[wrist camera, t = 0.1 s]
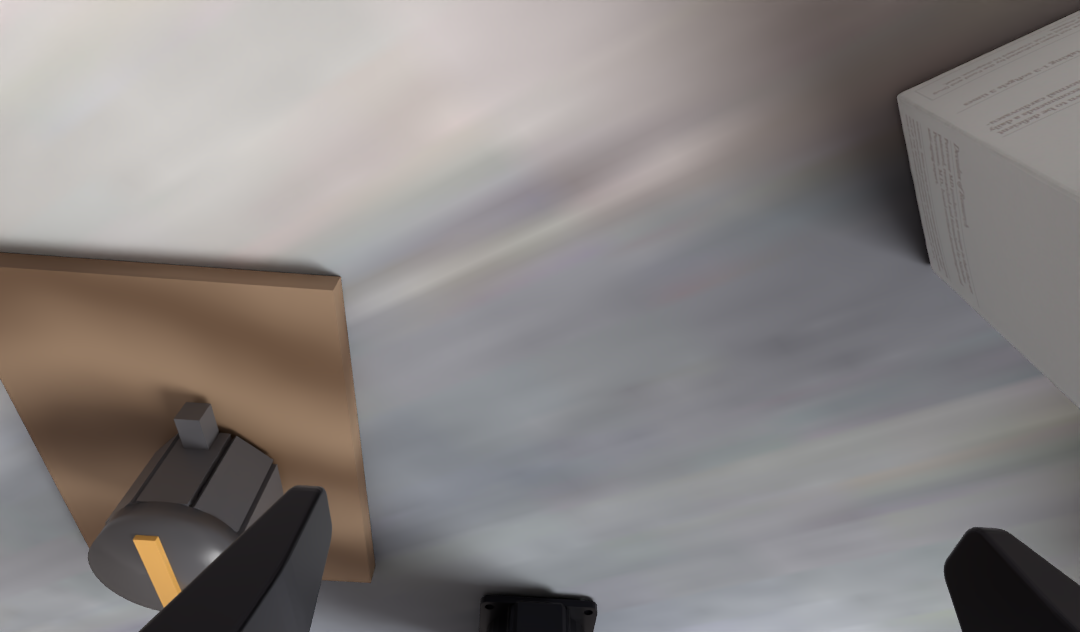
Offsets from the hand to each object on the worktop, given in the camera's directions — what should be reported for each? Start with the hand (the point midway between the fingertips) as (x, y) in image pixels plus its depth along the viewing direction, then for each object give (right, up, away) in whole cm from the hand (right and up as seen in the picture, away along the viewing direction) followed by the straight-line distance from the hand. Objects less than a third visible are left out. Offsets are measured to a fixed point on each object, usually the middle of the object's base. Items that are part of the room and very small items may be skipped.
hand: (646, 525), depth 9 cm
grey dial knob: (-16, -4, +19) cm, 25 cm away
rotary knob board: (-17, -3, +20) cm, 26 cm away
